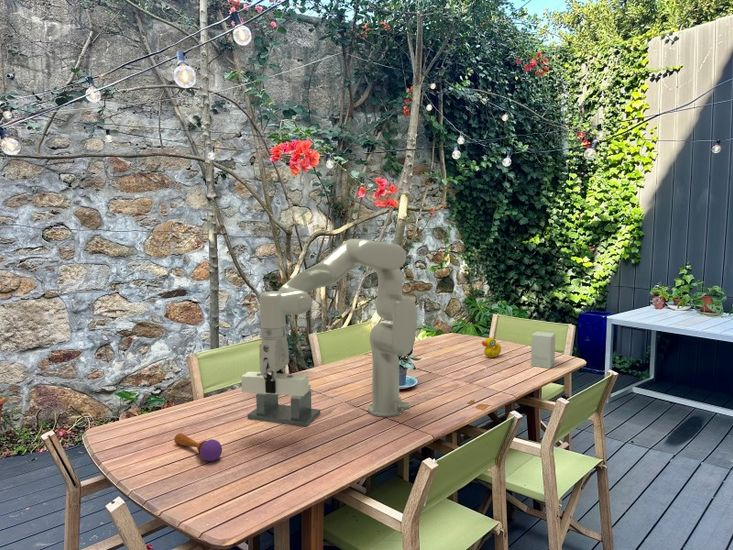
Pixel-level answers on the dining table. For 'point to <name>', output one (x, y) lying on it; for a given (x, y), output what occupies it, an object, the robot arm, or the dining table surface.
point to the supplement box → (543, 349)
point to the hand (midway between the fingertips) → (275, 389)
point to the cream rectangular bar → (276, 383)
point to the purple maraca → (201, 447)
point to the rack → (284, 410)
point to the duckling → (491, 348)
